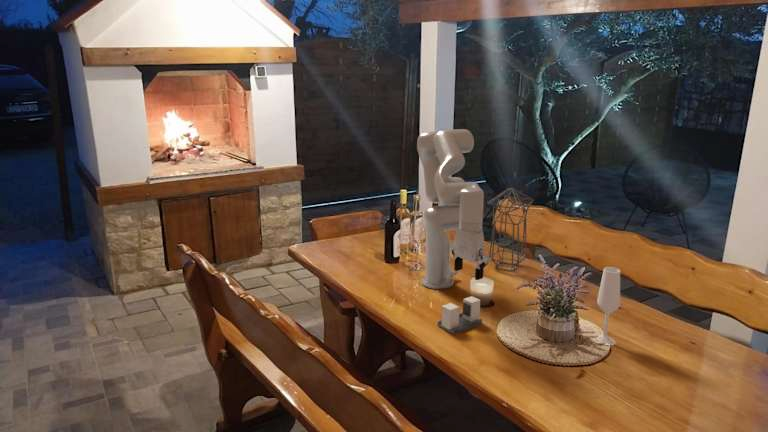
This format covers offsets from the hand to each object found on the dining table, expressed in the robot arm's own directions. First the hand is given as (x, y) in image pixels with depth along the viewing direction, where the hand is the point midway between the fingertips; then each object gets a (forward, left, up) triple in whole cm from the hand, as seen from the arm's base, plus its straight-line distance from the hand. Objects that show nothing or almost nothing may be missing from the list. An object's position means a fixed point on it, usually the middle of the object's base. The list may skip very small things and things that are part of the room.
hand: (468, 274), depth 193 cm
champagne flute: (-25, +36, -17) cm, 47 cm away
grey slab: (+4, 0, -17) cm, 18 cm away
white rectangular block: (-1, +1, -16) cm, 16 cm away
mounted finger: (+8, 0, -16) cm, 18 cm away
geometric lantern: (-50, -27, -17) cm, 59 cm away
